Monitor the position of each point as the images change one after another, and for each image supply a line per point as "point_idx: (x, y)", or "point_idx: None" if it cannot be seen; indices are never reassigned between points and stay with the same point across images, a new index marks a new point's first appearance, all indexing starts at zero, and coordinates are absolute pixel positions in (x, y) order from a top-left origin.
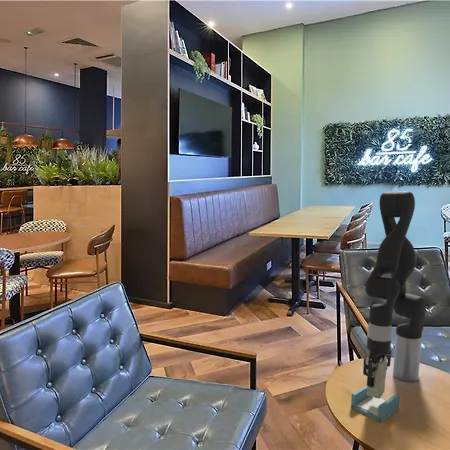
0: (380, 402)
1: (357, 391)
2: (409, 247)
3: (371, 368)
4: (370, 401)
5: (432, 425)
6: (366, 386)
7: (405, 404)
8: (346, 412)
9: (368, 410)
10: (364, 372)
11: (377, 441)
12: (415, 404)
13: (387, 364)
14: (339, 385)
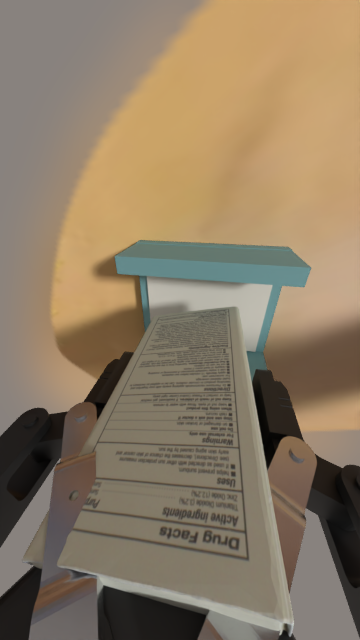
0: None
1: (156, 265)
2: None
3: (4, 523)
4: (212, 289)
5: None
6: (242, 273)
7: (303, 360)
8: (101, 246)
9: (151, 309)
10: (10, 436)
11: (80, 358)
12: (324, 379)
13: (324, 513)
14: (303, 18)
